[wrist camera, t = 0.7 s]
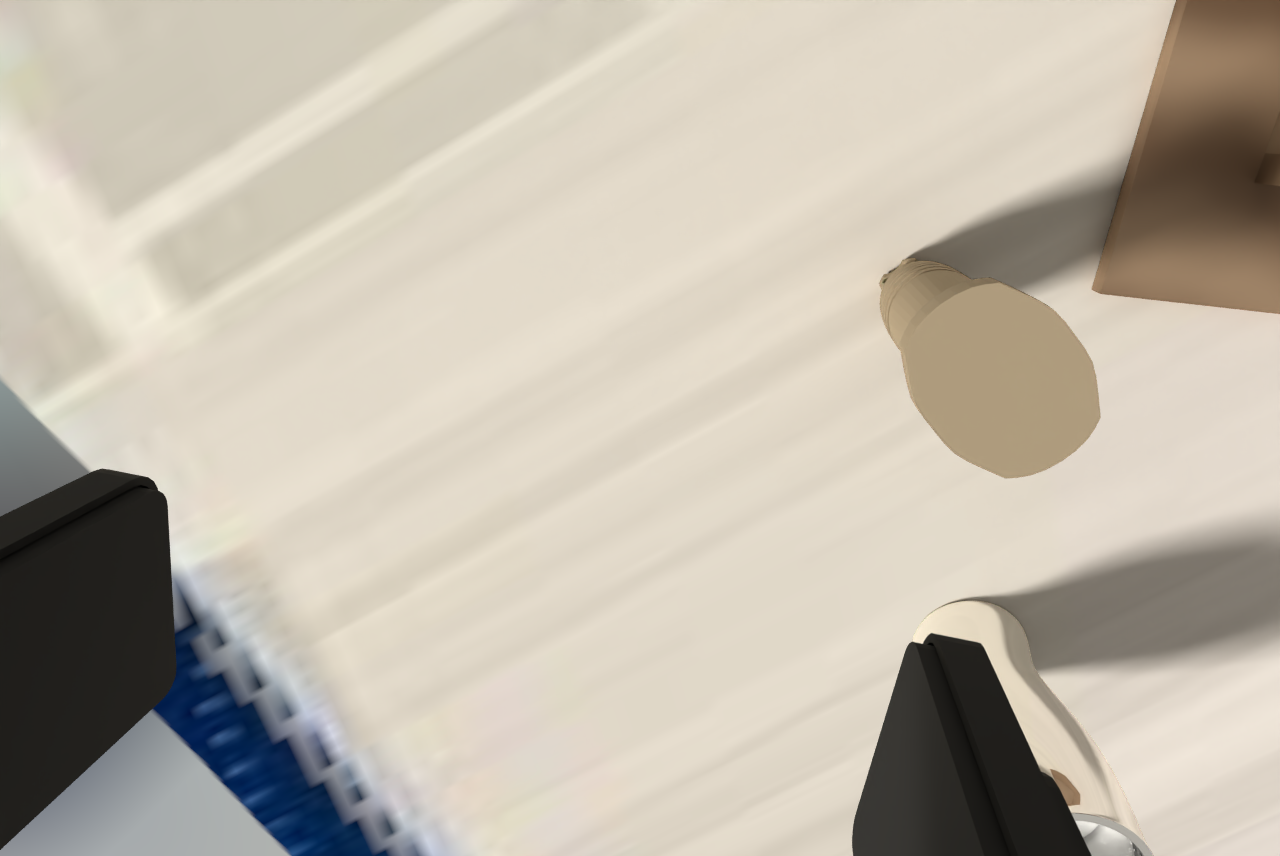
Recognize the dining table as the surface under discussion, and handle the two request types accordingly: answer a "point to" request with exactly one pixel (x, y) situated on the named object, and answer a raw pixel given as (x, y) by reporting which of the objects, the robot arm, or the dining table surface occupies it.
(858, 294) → the dining table surface
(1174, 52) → the holder
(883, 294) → the handle
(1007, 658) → the beer glass
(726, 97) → the dining table surface
